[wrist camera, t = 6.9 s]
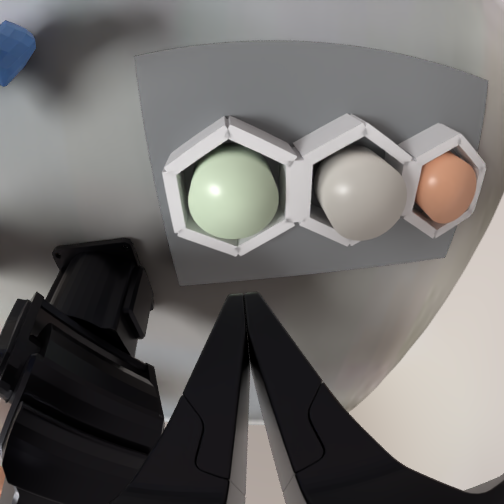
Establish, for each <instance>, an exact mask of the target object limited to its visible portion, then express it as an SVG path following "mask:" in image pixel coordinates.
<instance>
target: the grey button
mask: <svg viewBox="0 0 504 504" xmlns="http://www.w3.org/2000/svg"><path fill="white" fill-rule="evenodd" d="M314 191H315V195H316V198H317V200H318V202H319V203H320V205H321V207H322V209H323V210H324V212H325V214H326V216H327V217H328V219H329V221H330V223H331V225H332V226H333V228H334V229H335V230H336V232H337V233H339V234H340V235H341V236H343V237H345V238H347V239H350V240H356V241H364V240H369V239H373V238H376V237H378V236H380V235H382V234H384V233H385V232H387V231H388V230H389V229H390V228H391V227H392V226H393V225H394V224H395V223H396V222H397V221H398V219H399V218H400V216H401V215H402V213H403V210H404V208H405V205H406V200H407V189H406V184H405V182H404V179H403V178H402V176H401V175H400V174H399V172H398V171H396V170H395V169H394V168H393V167H392V166H391V165H389V164H388V163H387V162H386V161H385V160H383V159H382V158H381V157H380V156H378V155H377V154H376V153H375V152H373V151H372V150H370V149H369V148H366V147H364V146H360V145H348V146H345V147H343V148H342V149H340V150H338V151H336V152H334V153H333V154H331V155H329V156H327V157H326V158H325V159H324V160H323V161H322V162H321V164H320V165H319V167H318V169H317V171H316V174H315V178H314Z"/></svg>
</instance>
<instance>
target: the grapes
mask: <svg viewBox="0 0 504 504" xmlns="http://www.w3.org/2000/svg"><path fill="white" fill-rule="evenodd" d="M35 49H36V43H35V38H34V36H33V34H32V33H30V32H29V31H28V30H26V29H25V28H23V27H21V26H19V25H17V24H14V23H12V22H9V21H6V20H5V21H4V22H3V23H2V24H0V86H3V87H5V86H7V85H8V84H9V83H10V82H11V81H12V79H13V78H14V77H15V76H16V75H17V74H18V73H19V72H20V71H21V70H22V69H23V68H24V67H25V65H26V63H27V62H28V60H29V59H30V57H31V56H32V54H33V52H34V50H35Z"/></svg>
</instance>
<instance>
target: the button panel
mask: <svg viewBox="0 0 504 504" xmlns="http://www.w3.org/2000/svg"><path fill="white" fill-rule="evenodd" d="M134 57H135V66H136V75H137V82H138V90H139V97H140V104H141V111H142V117H143V123H144V129H145V135H146V141H147V146H148V152H149V157H150V163H151V168H152V173H153V178H154V183H155V187H156V192H157V197H158V201H159V206H160V210H161V215H162V219H163V223H164V227H165V231H166V236H167V240H168V244H169V248H170V252H171V255H172V259H173V263H174V267H175V271H176V274H177V278H178V282H179V285H180V286H186V285H199V284H211V283H223V282H235V281H246V280H257V279H267V278H277V277H287V276H297V275H307V274H316V273H326V272H335V271H343V270H352V269H361V268H369V267H377V266H385V265H393V264H401V263H409V262H416V261H424V260H431V259H438V258H445V257H446V254H447V252H448V249H449V246H450V244H451V241H452V238H453V236H454V233H455V230H456V227H457V225H458V224H459V223H461V222H462V221H464V220H465V219H467V218H468V217H470V216H471V213H474V210H475V207H476V203H477V200H478V197H479V194H480V190H481V187H482V183H483V180H484V176H485V172H486V167H485V166H486V164H485V162H484V161H483V160H482V158H481V157H480V156H479V154H478V153H477V152H478V147H479V142H480V137H481V131H482V125H483V119H484V113H485V105H486V97H487V88H488V80H486V79H483V78H480V77H478V76H475V75H472V74H470V73H467V72H464V71H461V70H458V69H455V68H452V67H449V66H445V65H442V64H439V63H435V62H432V61H428V60H424V59H420V58H416V57H412V56H408V55H403V54H399V53H394V52H389V51H383V50H378V49H372V48H366V47H359V46H351V45H343V44H333V43H322V42H307V41H240V42H224V43H213V44H203V45H195V46H188V47H181V48H174V49H168V50H162V51H157V52H152V53H147V54H142V55H138V56H134ZM225 143H239V144H241V145H243V146H245V147H248V148H250V149H252V150H254V151H256V152H259V153H260V154H261V155H262V156H263V157H264V158H265V159H266V161H267V163H268V165H269V168H270V170H271V173H272V176H273V178H274V181H275V183H276V186H277V189H278V194H279V203H278V208H277V211H276V214H275V215H274V217H273V219H272V220H271V222H270V223H269V224H268V225H267V226H266V227H265V228H264V229H262V230H261V231H259V232H258V233H256V234H254V235H252V236H249V237H246V238H241V239H224V238H219V237H216V236H213V235H211V234H209V233H207V232H206V231H204V230H203V229H202V228H201V227H199V226H198V225H197V223H196V222H195V221H194V219H193V217H192V215H191V213H190V210H189V205H188V195H189V190H190V186H191V181H192V177H193V172H194V169H195V166H196V164H197V162H198V160H199V159H200V158H201V157H202V156H204V155H205V154H207V153H208V152H210V151H211V150H213V149H214V148H216V147H217V146H219V145H221V144H225ZM348 145H360V146H364V147H366V148H369V149H370V150H372V151H373V152H375V153H376V154H377V155H378V156H380V157H381V158H382V159H383V160H385V161H386V162H387V163H388V164H389V165H391V166H392V167H393V168H394V169H395V170H396V171H398V172H399V174H400V175H401V176H402V178H403V179H404V182H405V184H406V189H407V200H406V205H405V208H404V210H403V213H402V215H401V216H400V218H399V219H398V221H397V222H396V223H395V224H394V225H393V226H392V227H391V228H390V229H389V230H388V231H387V232H385V233H384V234H382V235H380V236H378V237H376V238H373V239H369V240H364V241H356V240H350V239H347V238H345V237H343V236H341V235H340V234H339V233H337V232H336V230H335V229H334V228H333V226H332V225H331V223H330V221H329V219H328V217H327V216H326V214H325V212H324V210H323V209H322V207H321V205H320V203H319V202H318V200H317V198H316V195H315V191H314V178H315V174H316V171H317V169H318V167H319V165H320V164H321V162H322V161H323V160H324V159H325V158H326V157H327V156H329V155H331V154H333V153H334V152H336V151H338V150H340V149H342V148H343V147H345V146H348ZM447 151H450V152H451V153H453V154H454V155H456V156H458V157H459V158H461V159H462V160H464V161H465V162H466V163H468V164H469V165H470V166H471V167H472V168H473V170H474V172H475V175H476V182H477V183H476V191H475V195H474V198H473V200H472V202H471V204H470V206H469V207H468V209H467V210H466V211H465V212H464V213H463V214H462V215H461V216H460V217H459V218H457V219H456V220H454V221H452V222H449V223H444V224H443V223H437V222H435V221H433V220H432V219H431V218H430V217H429V216H428V215H427V214H426V213H425V212H424V211H423V210H422V209H421V208H420V206H419V205H418V204H417V203H416V202H415V197H416V192H417V188H418V183H419V179H420V174H421V169H422V166H423V165H424V164H426V163H428V162H430V161H431V160H433V159H435V158H437V157H438V156H440V155H442V154H444V153H445V152H447Z"/></svg>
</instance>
